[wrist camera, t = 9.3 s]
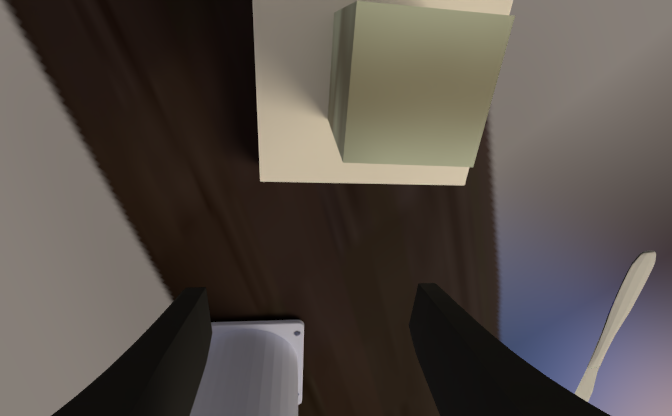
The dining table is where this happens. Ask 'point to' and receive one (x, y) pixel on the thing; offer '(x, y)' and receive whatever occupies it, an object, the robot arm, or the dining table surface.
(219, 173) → the dining table surface
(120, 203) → the dining table surface
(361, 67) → the stacking block
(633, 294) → the butter knife
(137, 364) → the robot arm
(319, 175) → the base block
